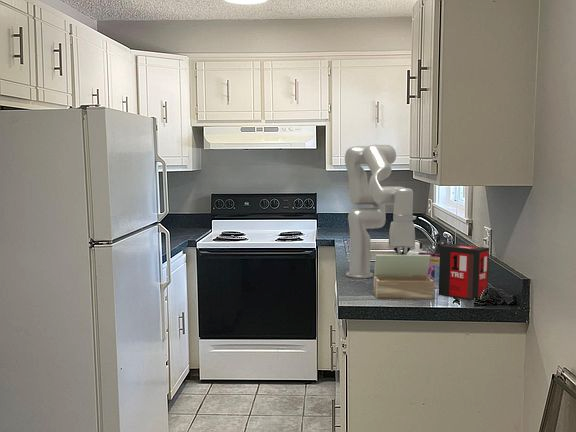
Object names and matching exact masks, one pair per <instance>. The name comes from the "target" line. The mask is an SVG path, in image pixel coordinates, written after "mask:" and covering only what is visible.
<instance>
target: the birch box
mask: <svg viewBox="0 0 576 432" xmlns="http://www.w3.org/2000/svg"><path fill="white" fill-rule="evenodd" d="M434 289H435V288H434V281H433V280H432V279H430V278H429V277H428V276H374V275H373V289H372V291H373V295H374V297H376V299H377V300H378V299H379V300H380V299H381V300H385V299H386V300H390V299H391V300H414V299H415V300H433V299H434V295H435V294H434V292H435V291H434Z"/></svg>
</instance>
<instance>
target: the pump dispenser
mask: <svg viewBox="0 0 576 432" xmlns="http://www.w3.org/2000/svg"><path fill="white" fill-rule="evenodd" d="M447 244H449V243H448V242H447V240H442V239H441V240H439V241H438V242H436V243H435V247H434V250H433V253H432V254H440V246H442V245H447Z"/></svg>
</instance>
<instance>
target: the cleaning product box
mask: <svg viewBox="0 0 576 432" xmlns="http://www.w3.org/2000/svg"><path fill="white" fill-rule="evenodd" d="M489 261H490V247H483V246H477V245H475V246H474V245H468V244H467V245H465V244H464V245H463V244H456V243H448V244H447V245H442V246H440V263H439V289H438V296H442V297H449V298H453V299H460V300H466V301H470V300H474V298H475V297H478V296H481V294H482V292H483V290H484V289H486V288H488V287H489V285H488V284H489V263H490V262H489Z"/></svg>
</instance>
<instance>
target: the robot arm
mask: <svg viewBox="0 0 576 432" xmlns="http://www.w3.org/2000/svg"><path fill="white" fill-rule="evenodd" d="M396 158H397V152H396V149H395V148H394V147H393V146H392V145H389V144H371V145H365V146H364V145H358V146H350V147H348V148H347V149H346V151H345V154H344V164H345V165H344V166H345V168H346V171H347V174H348V185H349V187H348V188H349V189H348V190H349V198H350V202H351V204H352V205H354V206H371V207H357V208H353V209H351V210H350V211H349V213H348V214H347V215H348V216H347V220H348V226H349V227H348V228H349V266H348V267H349V269H348V270H349V271H346V273H345V276H347V277H348V278H354V279H368V278H373V277H374V273H373V272H371V236H370V234H369V233H368V231H367V230H368V229H380V228H383V227H384V226H385V224H386V219H387V218H386V206H389V205H391V206H393V212H392V213H393V214H392V215H393V216H392V217H393V219H392V220H393V221H391V222H390V224H389V225H390V226H389V232H388V233H389V234H388V249H389V250H392V251H394V252H395V253H396V255H407V253H408V252H409V251H411V250H414V249H415V242H416V233H415V232H416V230H415V223H414V222H413V221H414V220H416V218H417V216H415V215H413V208H414V204H413V203H414V191H413V189H411V188H410V187H409V188H408V187H405V186H400V185H399V186H382V185H381V184H380V182H382V181H383V180H385V179H387V178H389V176H390V175H391V173H392V171H393V170H392V166H391V165H392V164H393V163H395V161H396V160H397V159H396ZM362 165H363V166H367V167H368V169H369V171H370V173H371V176H370V179H369V182H368V174H367V172H366V170H365V169H364V168H363V167H362ZM401 248H402V251H401Z"/></svg>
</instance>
